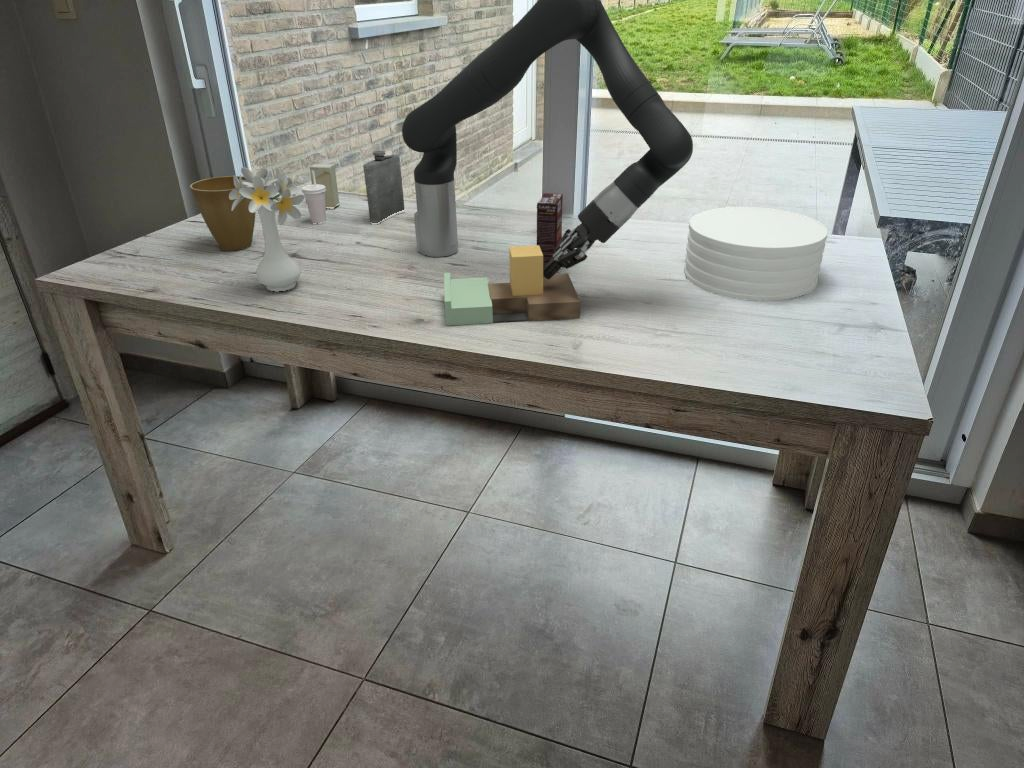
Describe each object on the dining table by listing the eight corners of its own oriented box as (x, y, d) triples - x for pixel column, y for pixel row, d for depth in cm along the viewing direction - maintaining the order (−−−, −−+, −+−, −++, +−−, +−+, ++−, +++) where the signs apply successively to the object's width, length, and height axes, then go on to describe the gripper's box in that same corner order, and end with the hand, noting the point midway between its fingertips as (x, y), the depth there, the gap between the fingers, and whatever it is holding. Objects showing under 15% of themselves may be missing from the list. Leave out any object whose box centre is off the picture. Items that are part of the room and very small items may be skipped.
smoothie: (327, 225, 191) (319, 173, 184) (304, 226, 191) (295, 174, 184) (333, 218, 197) (325, 167, 190) (310, 218, 197) (302, 168, 190)
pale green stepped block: (488, 292, 149) (487, 270, 146) (492, 322, 136) (492, 299, 133) (445, 295, 148) (444, 272, 145) (446, 325, 135) (444, 301, 133)
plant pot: (242, 258, 170) (228, 192, 162) (192, 252, 174) (176, 188, 166) (279, 239, 182) (267, 177, 174) (231, 234, 186) (217, 173, 178)
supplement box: (556, 274, 157) (557, 204, 149) (535, 273, 158) (535, 203, 150) (562, 261, 164) (563, 193, 156) (541, 260, 165) (542, 192, 157)
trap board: (567, 288, 150) (567, 273, 148) (579, 318, 137) (580, 301, 135) (487, 292, 149) (486, 277, 147) (491, 323, 136) (491, 306, 134)
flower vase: (291, 306, 144) (268, 183, 132) (232, 288, 153) (205, 172, 141) (336, 285, 154) (319, 169, 141) (279, 270, 163) (257, 159, 150)
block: (539, 282, 144) (539, 245, 140) (543, 294, 138) (543, 255, 134) (510, 284, 143) (509, 246, 139) (512, 296, 138) (512, 257, 134)
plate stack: (739, 311, 139) (748, 255, 133) (659, 265, 161) (663, 216, 155) (846, 287, 148) (858, 234, 142) (756, 247, 171) (764, 200, 165)
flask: (365, 223, 192) (357, 156, 183) (396, 209, 203) (389, 145, 194) (376, 225, 191) (368, 157, 182) (406, 211, 202) (400, 146, 193)
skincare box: (314, 209, 205) (308, 166, 199) (320, 204, 209) (314, 163, 203) (335, 209, 204) (328, 167, 198) (340, 205, 208) (334, 163, 202)
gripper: (588, 190, 139) (527, 252, 144) (602, 209, 127) (534, 276, 133) (613, 215, 142) (552, 275, 147) (628, 236, 131) (562, 300, 136)
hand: (544, 275), depth 140 cm, fingers closed
